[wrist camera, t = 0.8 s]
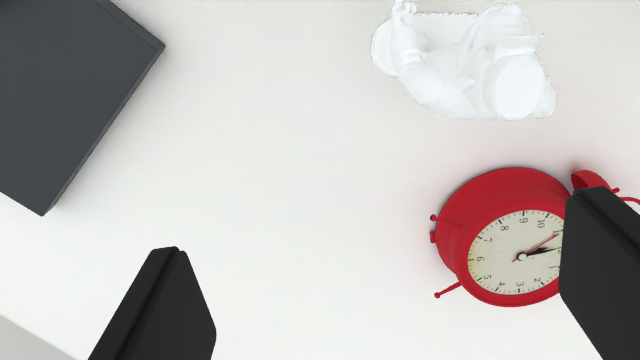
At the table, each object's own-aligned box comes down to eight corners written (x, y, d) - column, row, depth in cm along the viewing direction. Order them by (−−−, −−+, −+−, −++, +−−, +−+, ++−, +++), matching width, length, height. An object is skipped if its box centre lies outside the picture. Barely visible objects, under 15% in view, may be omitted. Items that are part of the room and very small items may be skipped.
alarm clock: (424, 204, 29) (696, 198, 25) (427, 162, 34) (651, 151, 30) (432, 319, 34) (662, 331, 30) (434, 266, 39) (629, 270, 35)
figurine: (527, -16, 26) (665, 6, 16) (505, 91, 29) (607, 171, 19) (375, -18, 26) (408, 2, 16) (368, 89, 29) (392, 168, 19)
